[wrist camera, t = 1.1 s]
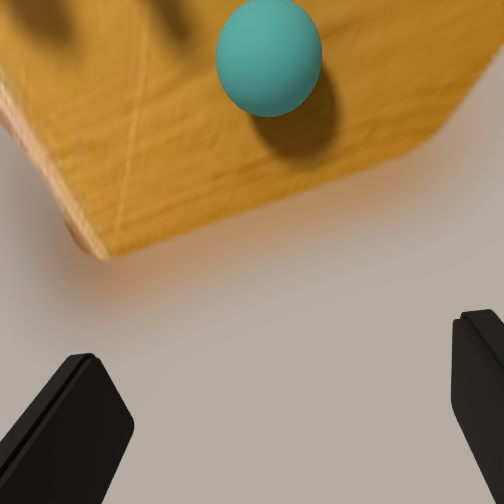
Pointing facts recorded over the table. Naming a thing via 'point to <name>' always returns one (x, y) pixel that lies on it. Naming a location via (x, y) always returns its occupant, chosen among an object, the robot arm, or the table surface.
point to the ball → (269, 57)
